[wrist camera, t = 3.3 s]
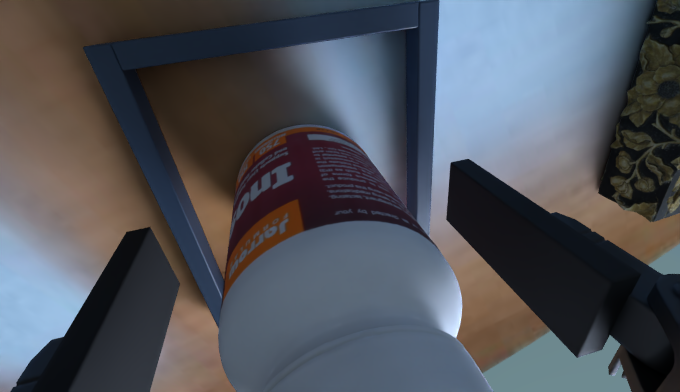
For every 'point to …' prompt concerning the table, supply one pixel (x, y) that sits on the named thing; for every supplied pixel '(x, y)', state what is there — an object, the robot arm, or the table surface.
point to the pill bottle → (334, 278)
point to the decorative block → (650, 125)
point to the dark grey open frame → (125, 56)
